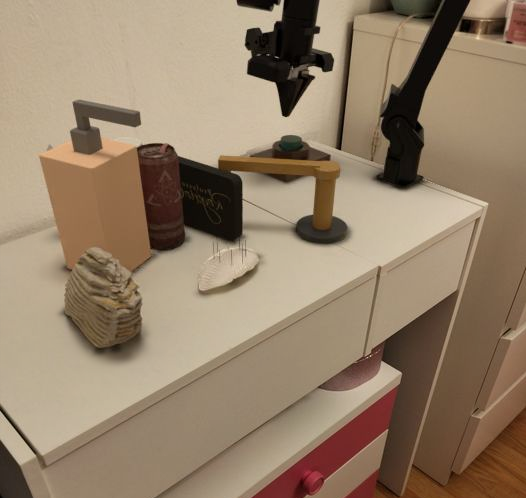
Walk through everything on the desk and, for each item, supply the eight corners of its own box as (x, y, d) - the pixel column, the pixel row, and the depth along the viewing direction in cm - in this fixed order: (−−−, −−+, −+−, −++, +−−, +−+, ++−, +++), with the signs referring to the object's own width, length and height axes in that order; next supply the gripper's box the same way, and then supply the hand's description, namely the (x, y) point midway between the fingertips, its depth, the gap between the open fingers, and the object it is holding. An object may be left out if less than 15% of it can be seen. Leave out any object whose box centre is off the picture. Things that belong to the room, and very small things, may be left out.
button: (290, 142, 107) (291, 133, 106) (305, 148, 105) (306, 138, 104) (276, 147, 105) (276, 138, 104) (290, 153, 103) (291, 143, 101)
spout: (339, 179, 83) (341, 159, 81) (338, 190, 80) (340, 170, 78) (222, 171, 85) (221, 152, 83) (217, 182, 82) (216, 162, 80)
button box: (293, 151, 113) (294, 131, 110) (329, 165, 107) (331, 145, 105) (250, 166, 107) (250, 145, 104) (286, 182, 101) (287, 161, 99)
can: (192, 233, 86) (185, 143, 77) (174, 253, 81) (164, 160, 72) (157, 227, 87) (146, 138, 78) (137, 246, 83) (123, 154, 74)
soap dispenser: (66, 268, 78) (24, 105, 64) (106, 242, 84) (76, 87, 69) (139, 293, 73) (111, 123, 59) (175, 263, 79) (159, 102, 65)
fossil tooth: (100, 301, 74) (163, 345, 65) (56, 318, 70) (116, 367, 61) (82, 219, 67) (150, 256, 58) (33, 233, 64) (97, 274, 55)
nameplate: (242, 238, 85) (242, 175, 78) (235, 243, 84) (234, 180, 77) (144, 201, 94) (136, 142, 87) (136, 205, 93) (128, 146, 86)
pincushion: (219, 301, 72) (217, 264, 68) (184, 286, 75) (180, 249, 71) (271, 263, 79) (272, 227, 76) (238, 250, 82) (237, 215, 78)
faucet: (319, 214, 91) (324, 161, 86) (357, 232, 87) (364, 177, 81) (285, 230, 87) (287, 175, 81) (322, 249, 83) (328, 192, 77)
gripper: (290, 5, 99) (278, 97, 109) (224, 8, 86) (217, 112, 96) (343, 18, 94) (326, 113, 104) (282, 23, 82) (269, 130, 91)
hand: (285, 116), depth 99 cm, fingers closed
